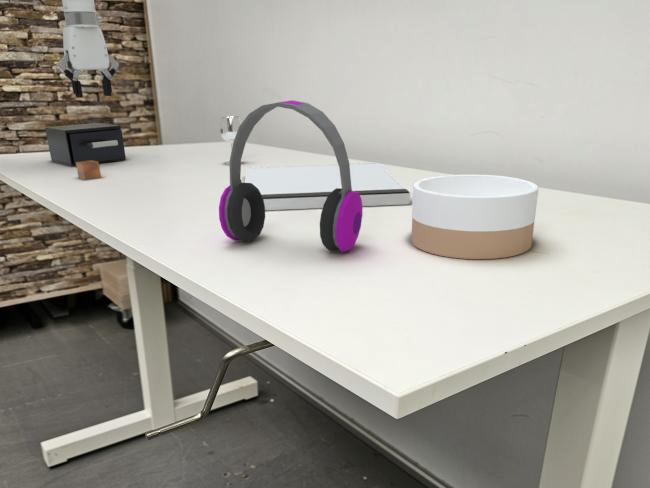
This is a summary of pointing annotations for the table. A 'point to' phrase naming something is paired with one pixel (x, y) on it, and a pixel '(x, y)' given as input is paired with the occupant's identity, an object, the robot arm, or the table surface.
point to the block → (88, 170)
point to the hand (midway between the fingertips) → (93, 96)
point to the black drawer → (97, 145)
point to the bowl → (473, 216)
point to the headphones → (247, 202)
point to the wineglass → (229, 128)
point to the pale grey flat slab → (324, 185)
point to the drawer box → (61, 141)
